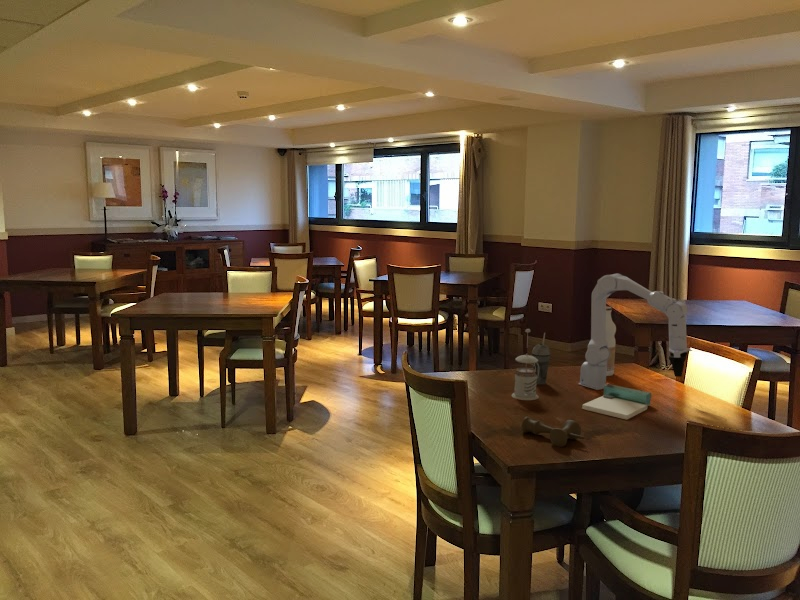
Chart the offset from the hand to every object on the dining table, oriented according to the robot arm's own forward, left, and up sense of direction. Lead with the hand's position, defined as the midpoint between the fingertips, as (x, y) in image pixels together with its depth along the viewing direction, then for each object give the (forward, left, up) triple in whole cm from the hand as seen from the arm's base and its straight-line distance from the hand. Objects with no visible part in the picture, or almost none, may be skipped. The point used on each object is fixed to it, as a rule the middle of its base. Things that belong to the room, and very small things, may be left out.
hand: (678, 374), depth 235 cm
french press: (-34, -40, -11) cm, 54 cm away
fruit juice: (-41, +10, -11) cm, 44 cm away
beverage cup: (-44, -23, -11) cm, 51 cm away
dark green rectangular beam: (-10, -15, -10) cm, 21 cm away
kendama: (+3, -65, -11) cm, 66 cm away
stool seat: (-7, -25, -10) cm, 28 cm away
